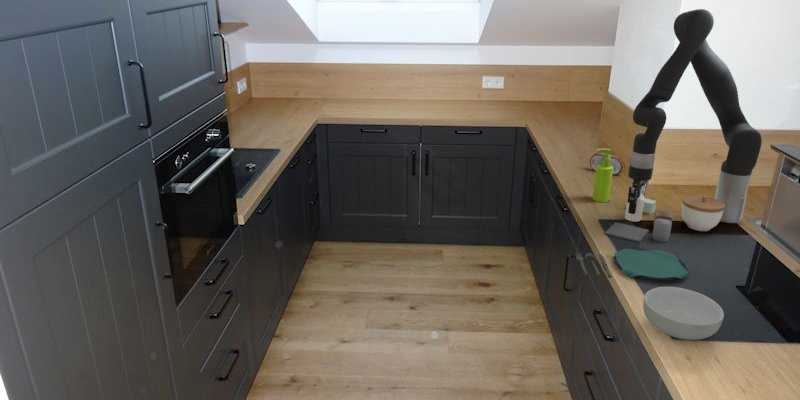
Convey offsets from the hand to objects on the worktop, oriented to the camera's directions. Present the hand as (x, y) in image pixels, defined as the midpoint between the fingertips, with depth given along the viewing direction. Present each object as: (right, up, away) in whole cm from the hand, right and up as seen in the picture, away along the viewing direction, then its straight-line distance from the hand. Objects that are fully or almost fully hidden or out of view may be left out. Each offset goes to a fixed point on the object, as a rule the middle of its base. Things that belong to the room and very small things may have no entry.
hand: (634, 210), depth 199 cm
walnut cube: (+7, -6, -6) cm, 11 cm away
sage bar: (+7, 0, +9) cm, 11 cm away
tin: (+8, +15, +50) cm, 53 cm away
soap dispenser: (-6, +4, +19) cm, 20 cm away
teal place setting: (-15, -16, -33) cm, 40 cm away
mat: (-7, -7, -11) cm, 14 cm away
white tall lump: (0, -3, +1) cm, 3 cm away
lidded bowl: (+20, -6, -5) cm, 21 cm away
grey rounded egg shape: (+2, -9, -15) cm, 17 cm away
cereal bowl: (-16, -27, -64) cm, 71 cm away
